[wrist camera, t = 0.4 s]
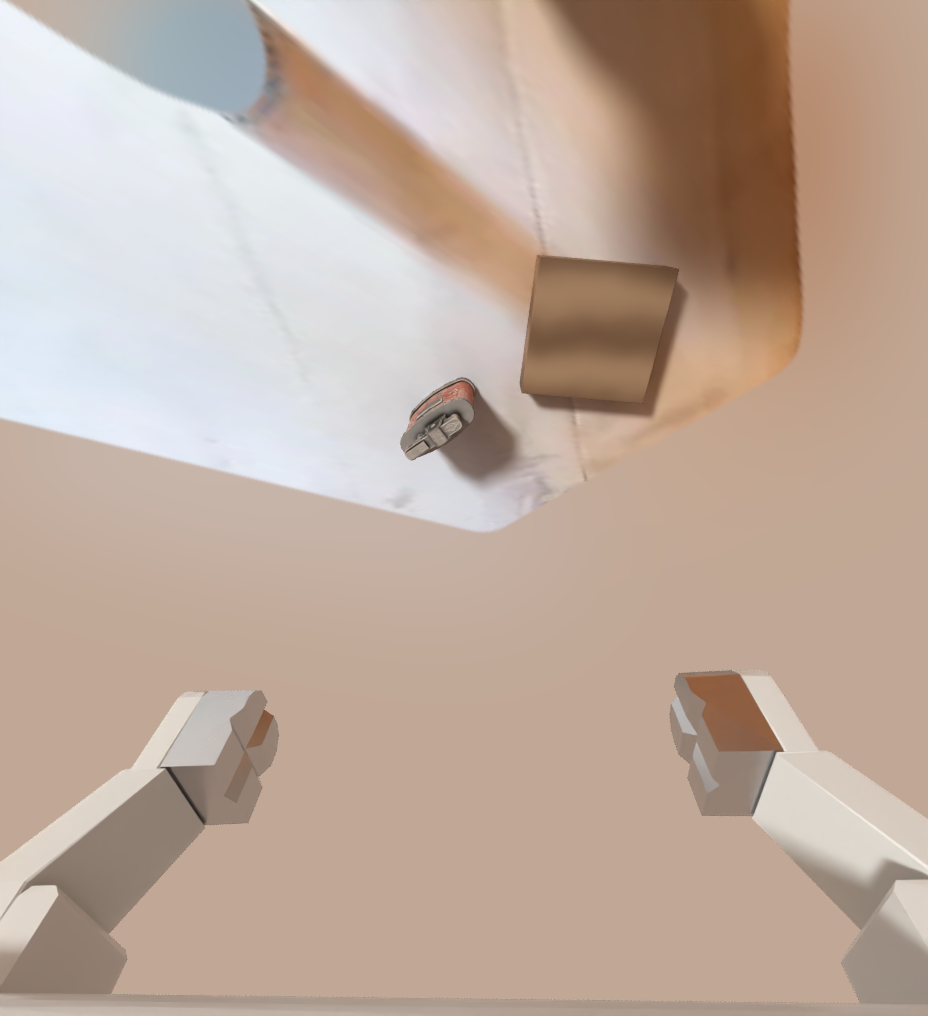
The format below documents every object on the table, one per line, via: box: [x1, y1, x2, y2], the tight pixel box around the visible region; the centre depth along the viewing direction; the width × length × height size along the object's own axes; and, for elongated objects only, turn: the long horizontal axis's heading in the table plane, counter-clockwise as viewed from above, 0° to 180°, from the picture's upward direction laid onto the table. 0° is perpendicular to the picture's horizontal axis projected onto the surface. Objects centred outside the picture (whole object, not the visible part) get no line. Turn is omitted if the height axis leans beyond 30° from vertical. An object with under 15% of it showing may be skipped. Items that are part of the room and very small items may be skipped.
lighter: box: [400, 377, 475, 460], centre depth 48 cm, size 8×3×10 cm, turn 126°
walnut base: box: [520, 255, 679, 403], centre depth 46 cm, size 12×12×4 cm
